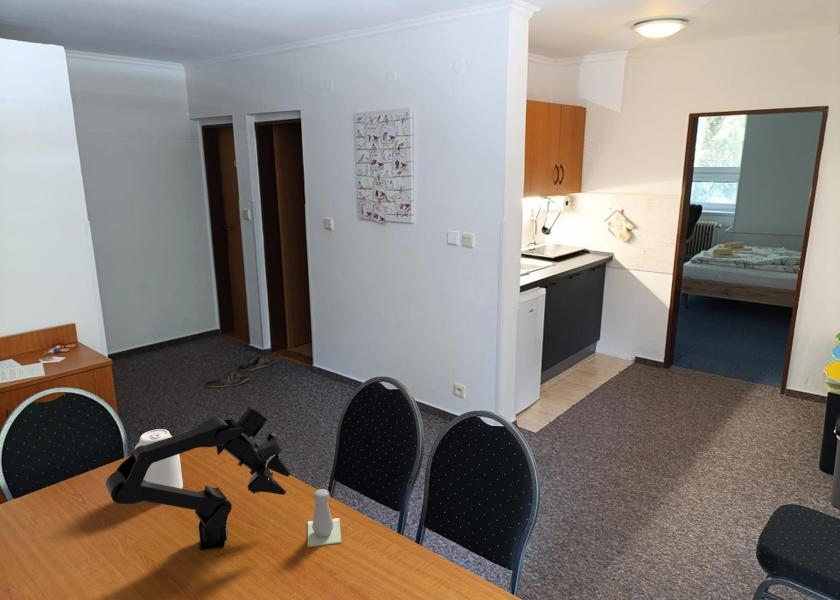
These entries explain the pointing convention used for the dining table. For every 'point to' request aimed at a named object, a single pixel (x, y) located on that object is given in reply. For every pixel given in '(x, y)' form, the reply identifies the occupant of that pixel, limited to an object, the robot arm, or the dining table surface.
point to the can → (162, 462)
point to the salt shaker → (322, 514)
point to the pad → (330, 539)
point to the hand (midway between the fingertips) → (287, 484)
